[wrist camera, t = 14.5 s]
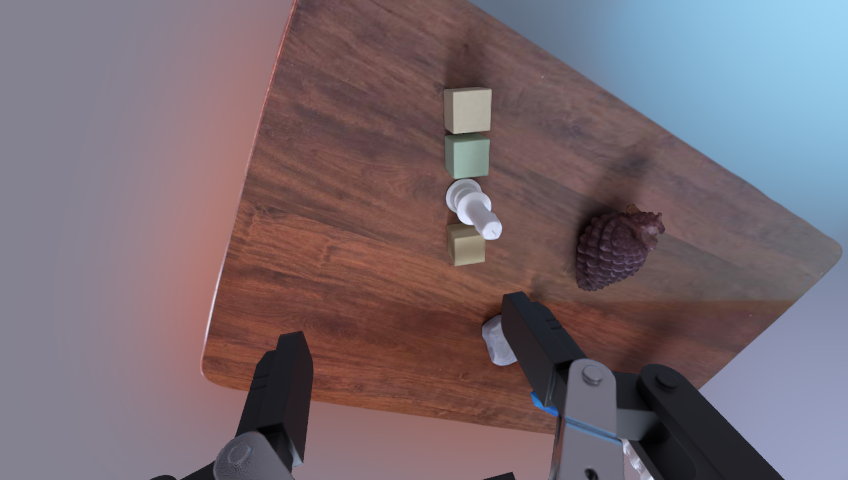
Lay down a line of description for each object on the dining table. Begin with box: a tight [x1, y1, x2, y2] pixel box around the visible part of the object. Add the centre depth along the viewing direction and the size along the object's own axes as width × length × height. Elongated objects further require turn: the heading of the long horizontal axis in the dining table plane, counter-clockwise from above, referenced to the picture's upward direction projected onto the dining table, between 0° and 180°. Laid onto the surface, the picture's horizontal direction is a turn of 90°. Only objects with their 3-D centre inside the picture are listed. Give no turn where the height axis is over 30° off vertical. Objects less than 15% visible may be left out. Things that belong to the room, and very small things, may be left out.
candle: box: [446, 179, 502, 240], centre depth 42 cm, size 5×5×12 cm
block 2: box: [445, 133, 490, 179], centre depth 42 cm, size 4×4×4 cm
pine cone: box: [576, 204, 665, 291], centre depth 51 cm, size 18×10×10 cm
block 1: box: [444, 87, 492, 134], centre depth 39 cm, size 4×4×4 cm
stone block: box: [482, 315, 517, 366], centre depth 60 cm, size 12×5×10 cm
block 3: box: [447, 223, 485, 266], centre depth 48 cm, size 4×4×4 cm
